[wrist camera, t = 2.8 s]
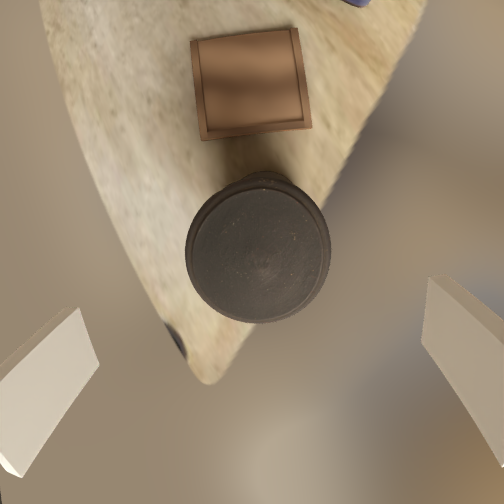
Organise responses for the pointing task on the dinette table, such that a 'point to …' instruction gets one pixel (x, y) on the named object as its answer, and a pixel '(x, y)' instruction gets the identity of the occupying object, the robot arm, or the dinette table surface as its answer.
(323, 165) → the dinette table surface
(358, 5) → the flask
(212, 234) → the container
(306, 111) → the square wooden tray
